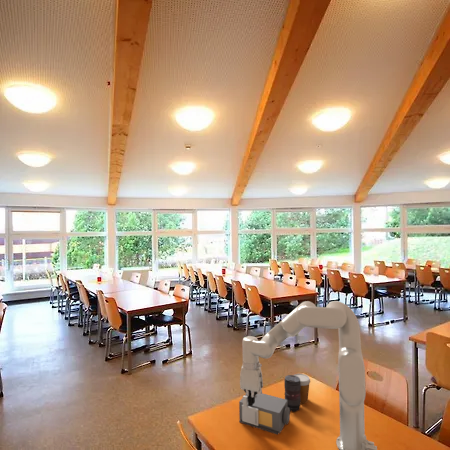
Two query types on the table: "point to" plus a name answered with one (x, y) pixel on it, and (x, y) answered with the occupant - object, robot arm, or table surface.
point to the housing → (269, 412)
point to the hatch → (249, 413)
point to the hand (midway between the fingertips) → (251, 404)
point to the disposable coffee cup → (304, 387)
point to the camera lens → (292, 391)
